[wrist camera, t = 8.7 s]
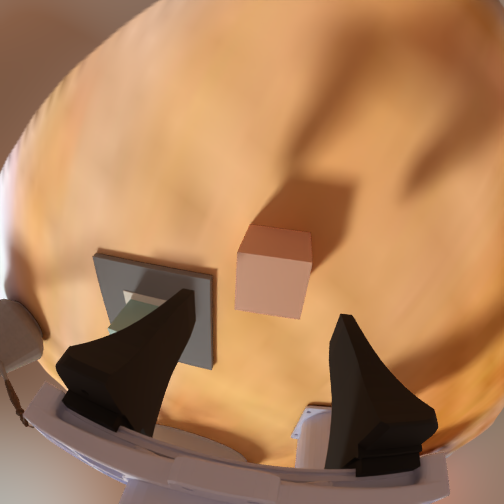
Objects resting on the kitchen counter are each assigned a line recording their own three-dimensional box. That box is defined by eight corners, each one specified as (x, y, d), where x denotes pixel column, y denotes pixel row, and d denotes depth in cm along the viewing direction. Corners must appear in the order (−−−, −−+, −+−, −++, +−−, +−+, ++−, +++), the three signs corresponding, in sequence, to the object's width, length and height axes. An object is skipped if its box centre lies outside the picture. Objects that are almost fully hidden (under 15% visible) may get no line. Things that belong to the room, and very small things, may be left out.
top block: (301, 282, 20) (299, 319, 16) (246, 274, 20) (234, 309, 17) (310, 232, 18) (312, 262, 14) (250, 223, 18) (237, 252, 15)
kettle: (110, 420, 43) (71, 500, 24) (164, 409, 34) (112, 534, 14) (198, 469, 50) (176, 541, 30) (271, 465, 40) (252, 563, 21)
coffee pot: (26, 338, 35) (-16, 391, 22) (-2, 286, 30) (-55, 339, 17) (105, 370, 32) (56, 452, 19) (70, 306, 26) (-4, 396, 13)
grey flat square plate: (213, 365, 26) (211, 370, 25) (119, 339, 27) (116, 343, 26) (212, 275, 20) (209, 280, 20) (96, 253, 22) (91, 256, 21)
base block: (175, 341, 24) (159, 373, 20) (137, 330, 24) (119, 359, 21) (170, 309, 22) (150, 342, 18) (130, 298, 22) (107, 328, 19)
